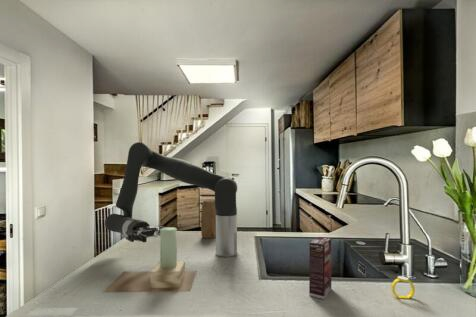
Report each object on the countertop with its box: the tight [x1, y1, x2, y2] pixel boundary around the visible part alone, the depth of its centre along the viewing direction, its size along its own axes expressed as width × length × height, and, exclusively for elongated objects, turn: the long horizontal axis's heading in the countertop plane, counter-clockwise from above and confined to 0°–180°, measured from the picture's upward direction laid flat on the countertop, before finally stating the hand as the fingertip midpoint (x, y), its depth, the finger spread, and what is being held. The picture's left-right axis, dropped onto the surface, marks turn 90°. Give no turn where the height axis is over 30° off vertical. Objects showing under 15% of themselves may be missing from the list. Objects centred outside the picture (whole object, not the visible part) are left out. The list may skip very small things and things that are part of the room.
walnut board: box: [103, 270, 197, 293], centre depth 93 cm, size 26×16×1 cm, turn 91°
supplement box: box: [308, 236, 332, 300], centre depth 87 cm, size 9×5×16 cm, turn 148°
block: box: [200, 198, 216, 239], centre depth 154 cm, size 11×8×20 cm
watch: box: [390, 275, 416, 300], centre depth 83 cm, size 6×3×6 cm, turn 84°
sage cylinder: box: [159, 226, 178, 269], centre depth 92 cm, size 5×5×12 cm
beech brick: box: [150, 260, 186, 288], centre depth 92 cm, size 9×9×5 cm
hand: (157, 236), depth 98 cm, fingers open, 8 cm apart
